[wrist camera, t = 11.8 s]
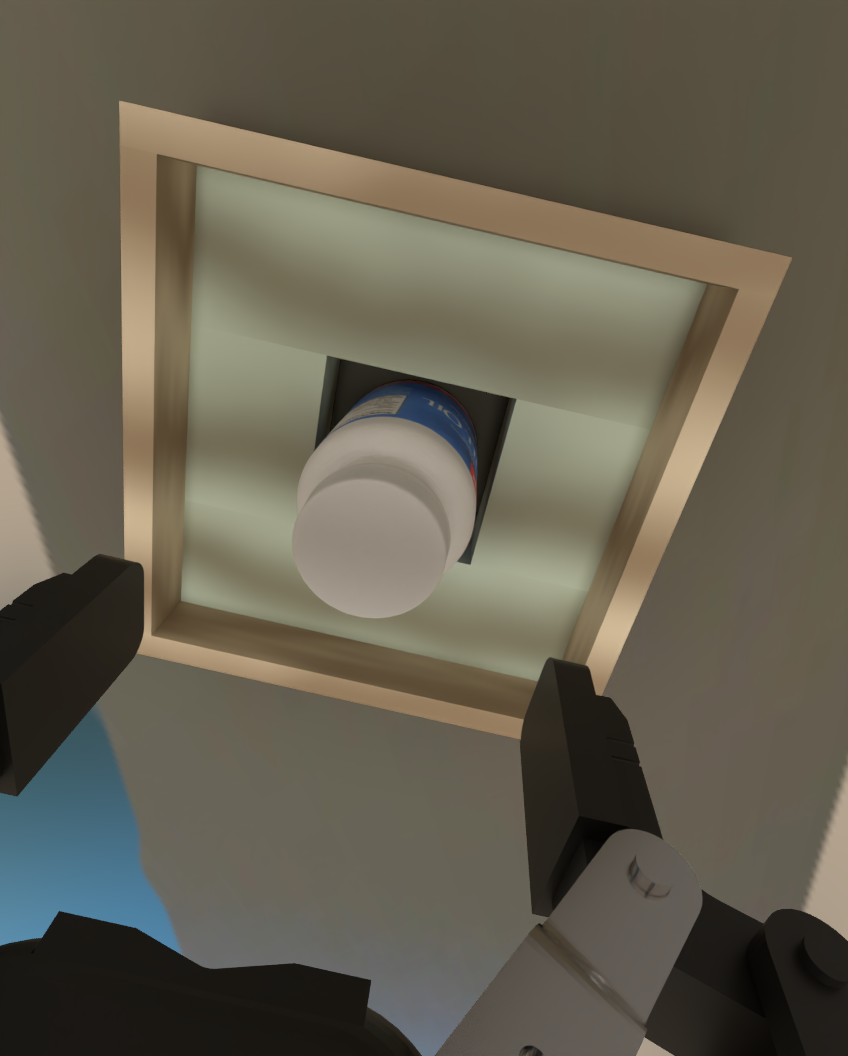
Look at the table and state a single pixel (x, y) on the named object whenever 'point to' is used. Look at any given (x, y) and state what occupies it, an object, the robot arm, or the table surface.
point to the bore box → (421, 350)
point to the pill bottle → (387, 501)
